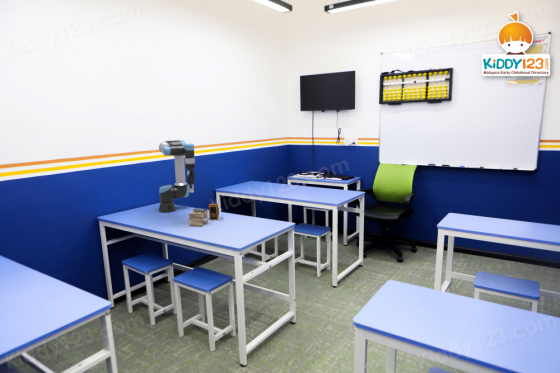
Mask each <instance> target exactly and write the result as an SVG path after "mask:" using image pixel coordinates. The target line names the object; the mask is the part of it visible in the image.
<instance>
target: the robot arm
mask: <svg viewBox="0 0 560 373" xmlns="http://www.w3.org/2000/svg"><path fill="white" fill-rule="evenodd" d="M158 151H159V152H161V153H162V154H163V156H164V157H169V156H172V157H174V171H175V172H174V174H175V183H174V186H173V185H172V184H167V185H162V186H160V187H159V191H158V192H159V202H160V203H159V207H158V212H159V213H171V212H175V211H176V210H177V207H176V205H175V202H174V199H175V200H176V199H184V198H188V197H189V195H190V193H194V192H195V191H194V185H195V184H196V183H195V178H196V176H195V173H196V170H194V169H196V163H195V162H196V161H195V160H196V157H195V146H194V144H193V143H186V141H185V140H183V139H182V140H181V139H177V140H165V141H163V142H161V143H160V144H159V145H158ZM185 169H187V171H186V170H185ZM186 179H187V182H186Z"/></svg>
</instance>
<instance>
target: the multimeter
mask: <svg viewBox="0 0 560 373" xmlns="http://www.w3.org/2000/svg"><path fill="white" fill-rule="evenodd" d="M209 197H211V199H212V200H211V201H212V202H211V203H208V199H209ZM216 197H217V198H218V199H219V200H220V204H221V205H223V203H222V201H221V199H220V198H219V196H214V197H212V196H208V197H207V200H206V201H207V204H208V205H207V207H208V209H207V213H208V216H209V217H208V219H209V220H210V221H211V220H215V221H217V220H219V219H224V217H223V216H219V215H220V211H219V209H220V208H219V204H218V203H215V201H214V198H216Z"/></svg>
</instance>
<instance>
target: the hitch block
mask: <svg viewBox="0 0 560 373" xmlns="http://www.w3.org/2000/svg"><path fill="white" fill-rule="evenodd" d="M204 209H205V211H204V212H203V211H201V212H197V211H193V210H192V211H191V212H189V213H188V221H189V227H203V226H204V225H206V224H207V223H208V222H204V220H203V218H208V219H209V217H208V216H209V214H208V212H207V211H208V209H207V208H204Z"/></svg>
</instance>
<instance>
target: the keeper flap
mask: <svg viewBox="0 0 560 373" xmlns="http://www.w3.org/2000/svg"><path fill="white" fill-rule="evenodd" d="M205 209H206V208H200V207H195V208H193V209H192V211H197V212H201V211H203V212H204V211H205Z"/></svg>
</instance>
